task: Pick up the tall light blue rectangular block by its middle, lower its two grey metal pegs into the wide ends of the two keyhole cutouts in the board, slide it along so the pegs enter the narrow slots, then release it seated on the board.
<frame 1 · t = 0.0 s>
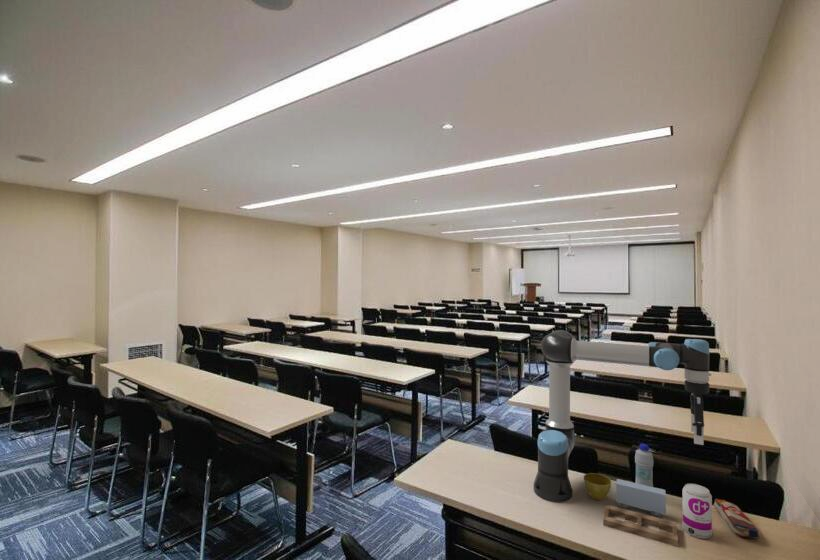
hand: (696, 437, 149), 28 cm above the table, fingers open, 13 cm apart
board: (639, 526, 140), on the table
pencil case: (735, 525, 142), on the table
bottle: (644, 493, 162), on the table
supplement can: (696, 532, 137), on the table
yellow bowl: (597, 497, 160), on the table
light blue rectangular block: (640, 510, 150), on the table
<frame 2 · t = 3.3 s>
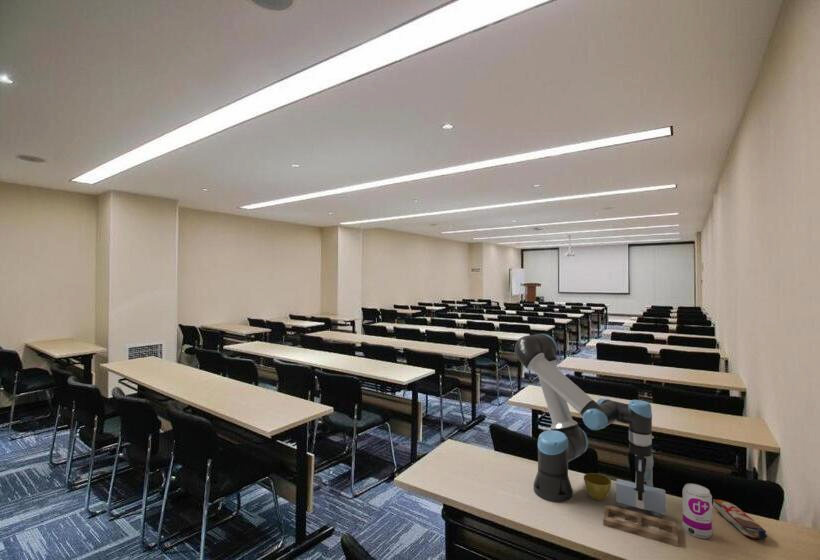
hand: (640, 504, 150), 2 cm above the table, fingers closed on light blue rectangular block, 4 cm apart
light blue rectangular block: (640, 510, 150), on the table, touching gripper
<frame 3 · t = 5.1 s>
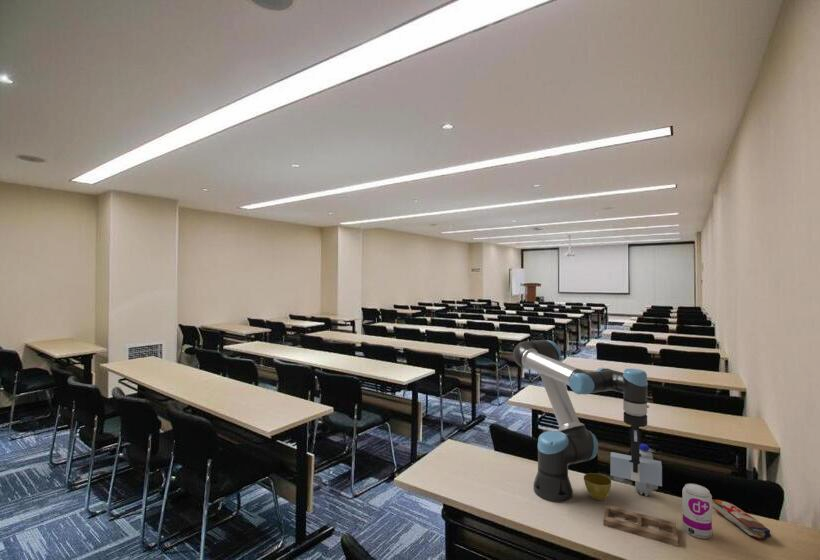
hand: (635, 477, 144), 16 cm above the table, fingers closed on light blue rectangular block, 4 cm apart
light blue rectangular block: (635, 483, 144), point 13 cm above the table, touching gripper
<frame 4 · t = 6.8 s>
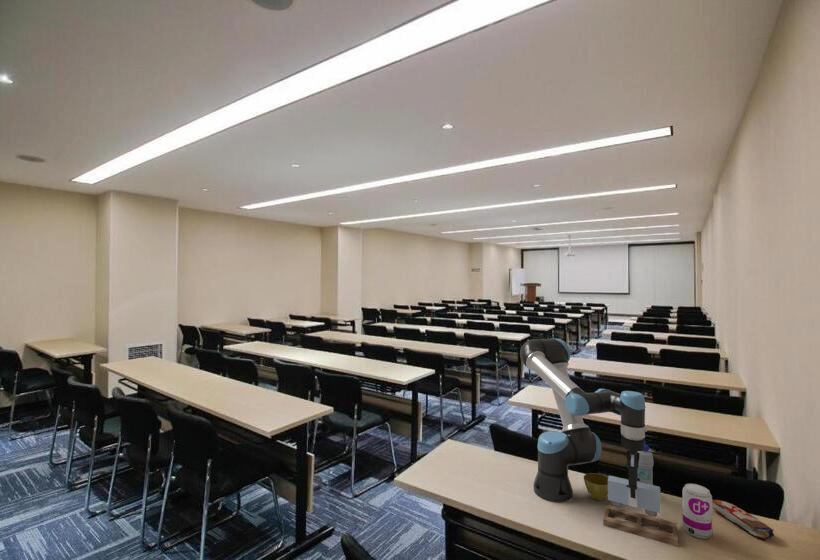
hand: (633, 502, 141), 8 cm above the table, fingers closed on light blue rectangular block, 4 cm apart
light blue rectangular block: (633, 508, 141), point 6 cm above the table, touching gripper
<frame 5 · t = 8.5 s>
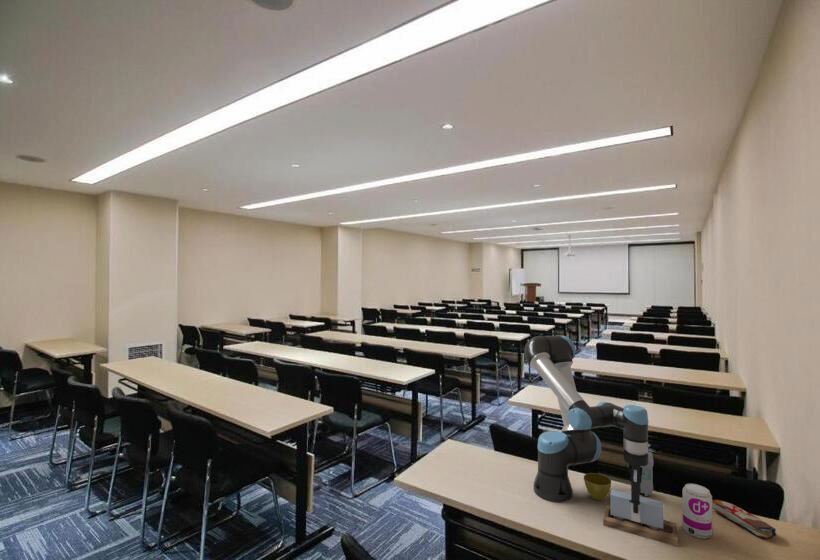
hand: (636, 517, 140), 3 cm above the table, fingers closed on light blue rectangular block, 4 cm apart
light blue rectangular block: (636, 523, 140), point 1 cm above the table, touching gripper
when the fingers open (3 cm above the table, at t = 10.1 s): light blue rectangular block stays where it is, resting on board.
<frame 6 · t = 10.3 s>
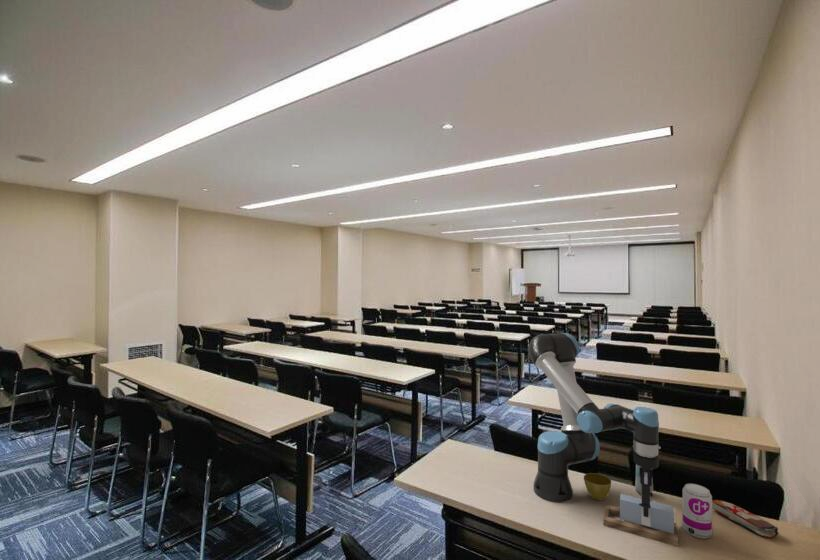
hand: (646, 519, 139), 3 cm above the table, fingers open, 7 cm apart
light blue rectangular block: (646, 528, 139), resting on board
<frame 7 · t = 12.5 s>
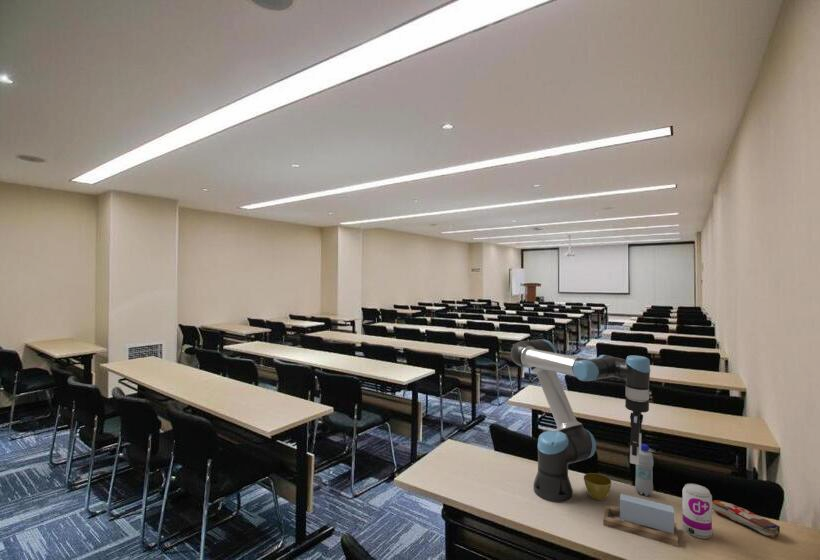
hand: (635, 456, 146), 22 cm above the table, fingers open, 13 cm apart
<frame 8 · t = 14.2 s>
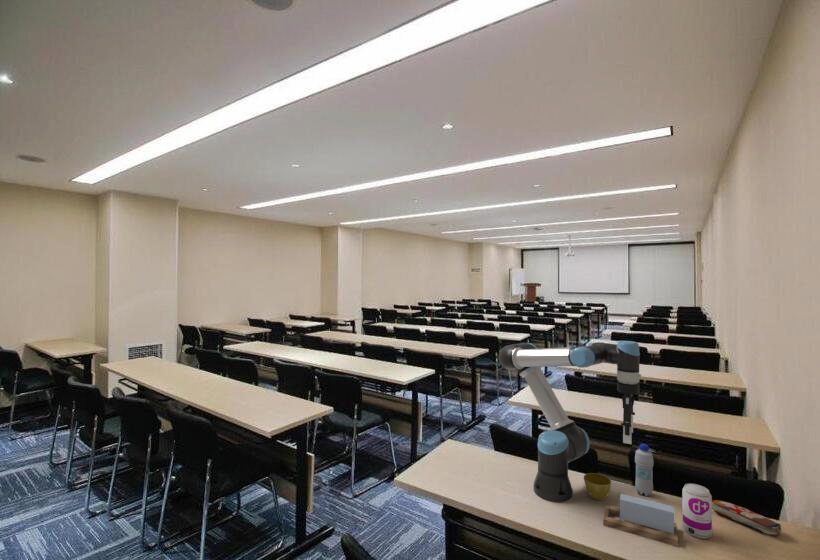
hand: (628, 437, 152), 27 cm above the table, fingers open, 13 cm apart
at the end: light blue rectangular block 0.1 cm from the target spot on the board, point 0.1 cm above the board's base; light blue rectangular block tilted 0°; the gripper is holding nothing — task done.
